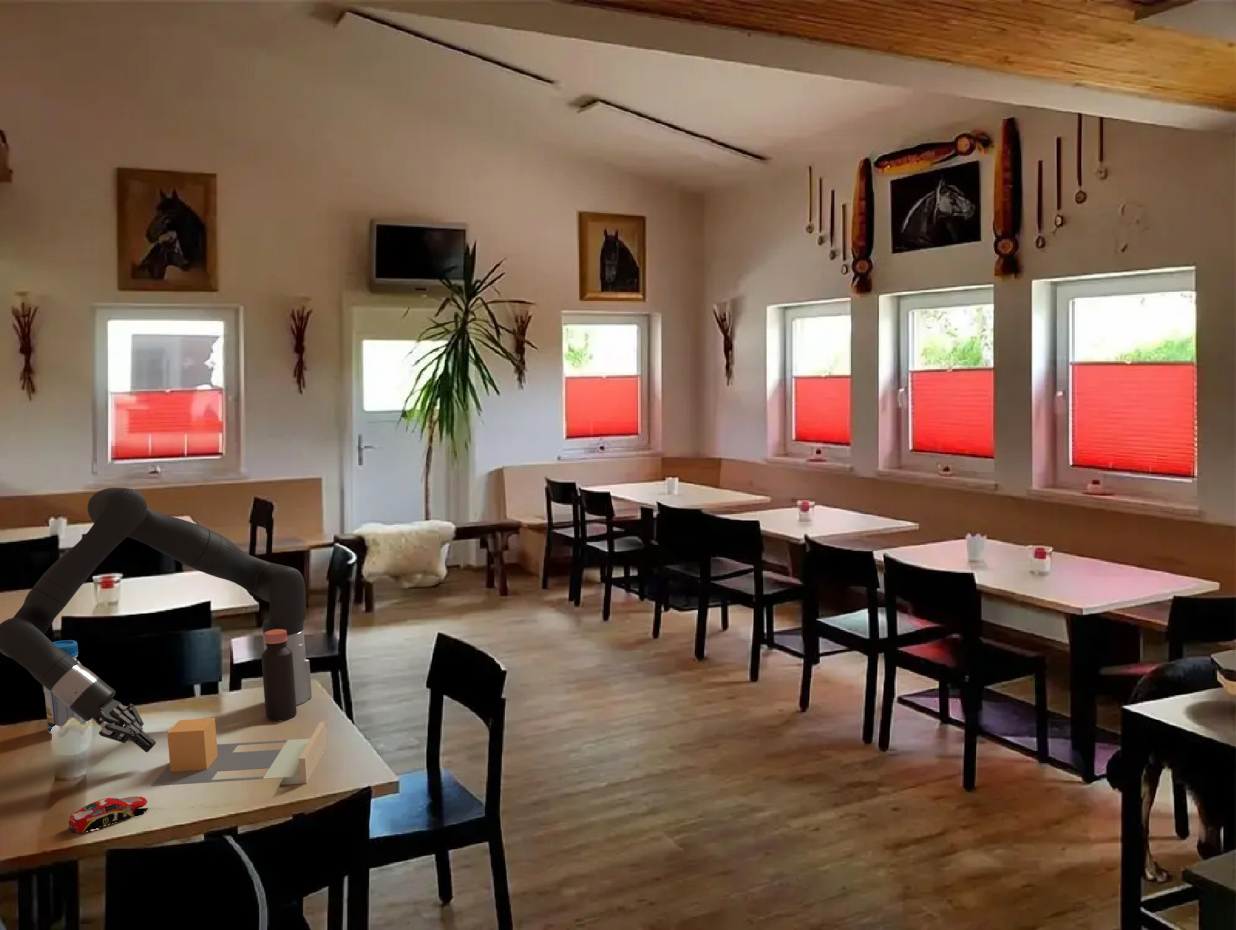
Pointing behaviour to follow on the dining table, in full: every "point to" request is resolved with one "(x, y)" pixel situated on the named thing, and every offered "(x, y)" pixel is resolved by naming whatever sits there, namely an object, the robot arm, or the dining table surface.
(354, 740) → the dining table surface
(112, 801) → the race car
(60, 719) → the beverage bottle
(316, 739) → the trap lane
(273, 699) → the vinegar
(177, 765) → the orange block
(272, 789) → the dining table surface
